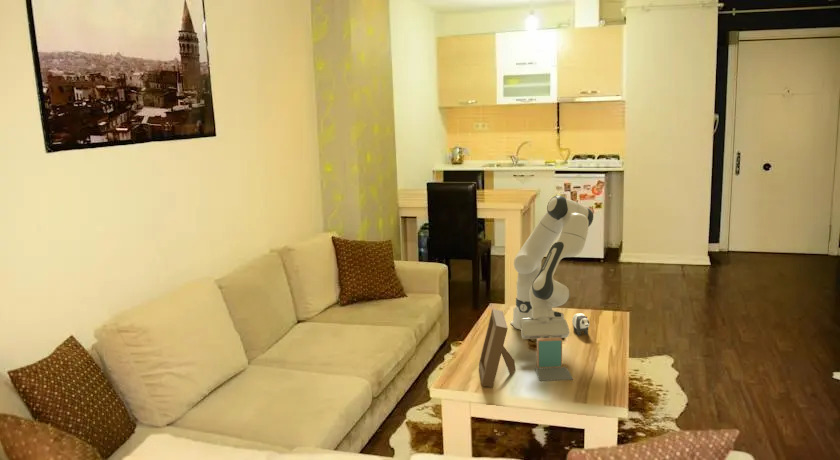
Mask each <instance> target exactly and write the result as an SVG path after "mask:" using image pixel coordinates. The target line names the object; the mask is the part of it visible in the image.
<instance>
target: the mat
mask: <svg viewBox="0 0 840 460" xmlns="http://www.w3.org/2000/svg"><path fill="white" fill-rule="evenodd" d="M534 371H535V373H536V375H537V377H538V379H539V381H540V382H546V381H547V382H548V381H549V382H550V381H551V382H553V381H570V380H571V381H572V380H574V378H573V376H572V374H571V373H570V371H569V369H568V368H567V367H566V366H562V367H554V368H538V367H536V368H534Z"/></svg>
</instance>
